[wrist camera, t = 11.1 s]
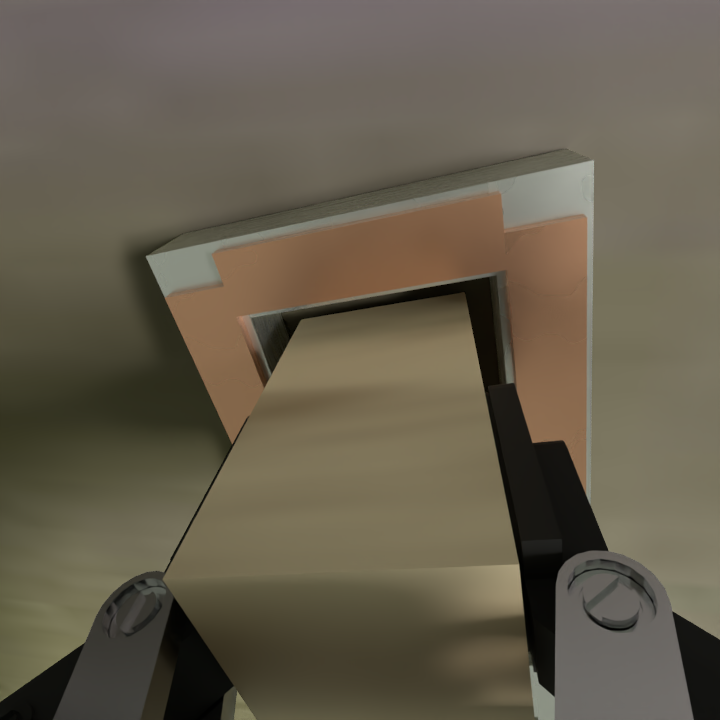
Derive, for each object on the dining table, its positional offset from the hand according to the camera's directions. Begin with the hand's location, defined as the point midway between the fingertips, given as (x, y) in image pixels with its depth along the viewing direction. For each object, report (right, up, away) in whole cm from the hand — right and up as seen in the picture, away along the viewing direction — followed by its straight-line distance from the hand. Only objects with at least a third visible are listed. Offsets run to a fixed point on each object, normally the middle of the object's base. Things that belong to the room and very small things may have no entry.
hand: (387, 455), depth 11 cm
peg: (0, +2, +3) cm, 3 cm away
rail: (+3, -6, +8) cm, 11 cm away
